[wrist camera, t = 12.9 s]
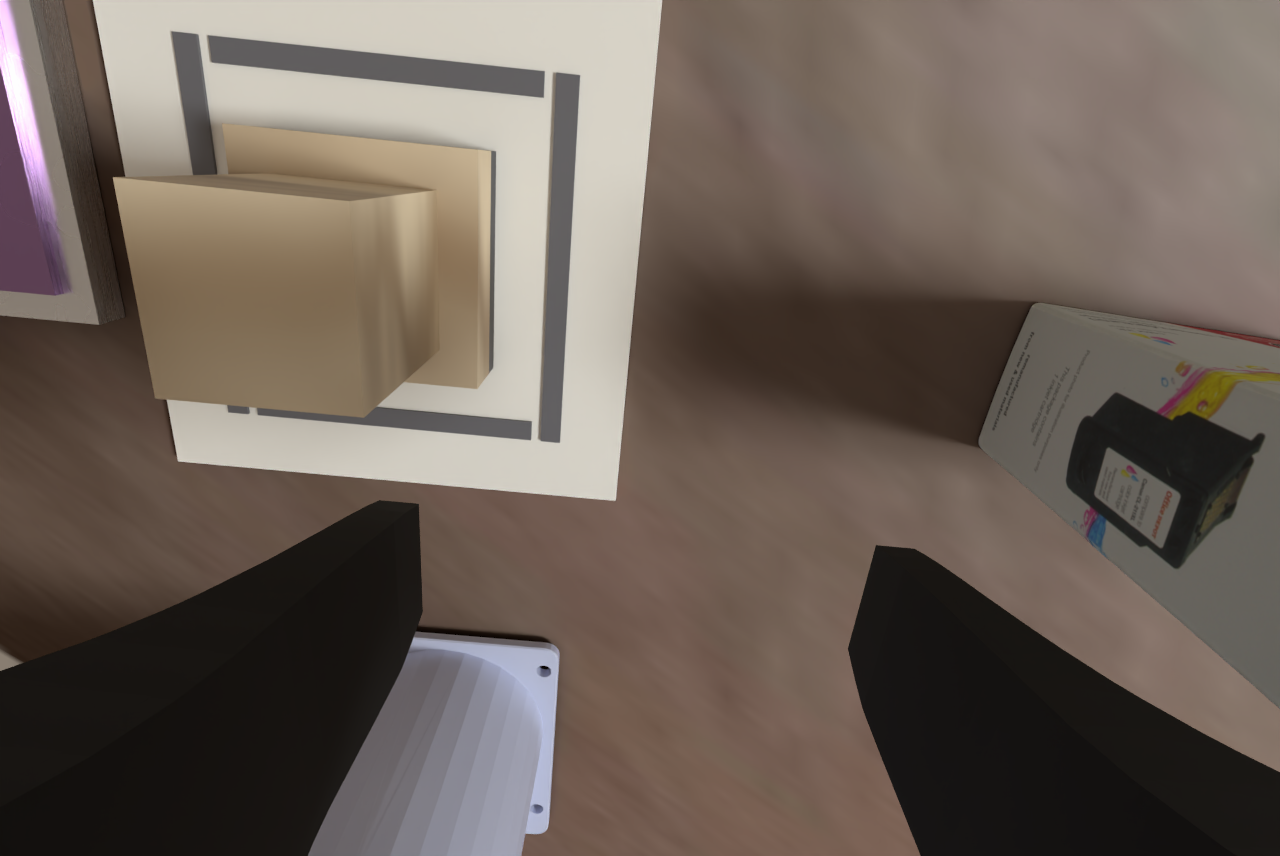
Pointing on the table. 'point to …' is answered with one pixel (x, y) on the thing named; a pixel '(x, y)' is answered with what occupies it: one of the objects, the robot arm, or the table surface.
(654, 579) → the table surface
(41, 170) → the ink pad
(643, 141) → the paper sheet
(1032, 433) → the ink box
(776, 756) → the table surface
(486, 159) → the wooden stamp
